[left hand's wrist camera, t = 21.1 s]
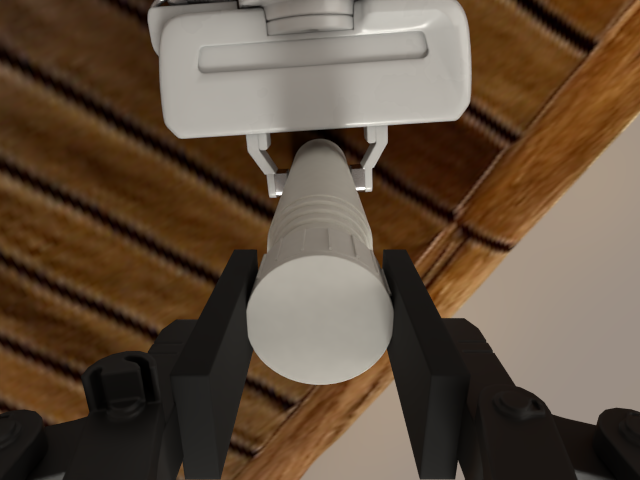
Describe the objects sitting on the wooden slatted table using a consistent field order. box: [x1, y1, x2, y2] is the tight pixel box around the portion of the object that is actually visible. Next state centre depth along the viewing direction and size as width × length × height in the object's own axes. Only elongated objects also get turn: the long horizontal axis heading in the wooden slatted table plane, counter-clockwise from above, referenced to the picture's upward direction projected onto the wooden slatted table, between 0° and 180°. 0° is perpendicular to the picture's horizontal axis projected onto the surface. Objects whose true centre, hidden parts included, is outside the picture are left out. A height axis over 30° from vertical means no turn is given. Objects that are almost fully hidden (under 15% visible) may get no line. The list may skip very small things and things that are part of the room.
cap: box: [246, 227, 394, 384], centre depth 13 cm, size 4×4×2 cm
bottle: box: [267, 139, 373, 253], centre depth 25 cm, size 5×5×25 cm
